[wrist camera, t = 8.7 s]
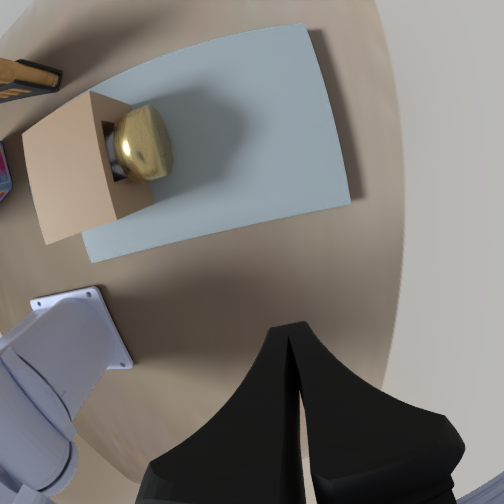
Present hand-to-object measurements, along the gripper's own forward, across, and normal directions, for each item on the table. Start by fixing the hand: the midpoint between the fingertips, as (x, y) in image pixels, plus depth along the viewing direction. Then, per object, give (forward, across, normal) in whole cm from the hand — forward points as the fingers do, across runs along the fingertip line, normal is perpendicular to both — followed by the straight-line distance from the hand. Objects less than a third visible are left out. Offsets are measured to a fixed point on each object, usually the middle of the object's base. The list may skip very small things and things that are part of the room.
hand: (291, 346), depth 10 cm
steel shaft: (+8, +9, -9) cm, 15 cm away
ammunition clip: (+10, +18, -20) cm, 29 cm away
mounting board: (+9, +4, -9) cm, 14 cm away
